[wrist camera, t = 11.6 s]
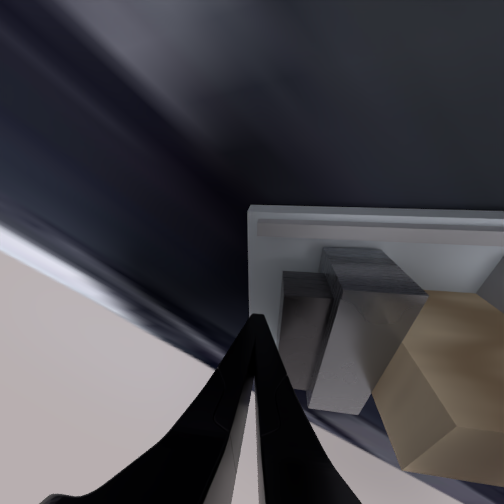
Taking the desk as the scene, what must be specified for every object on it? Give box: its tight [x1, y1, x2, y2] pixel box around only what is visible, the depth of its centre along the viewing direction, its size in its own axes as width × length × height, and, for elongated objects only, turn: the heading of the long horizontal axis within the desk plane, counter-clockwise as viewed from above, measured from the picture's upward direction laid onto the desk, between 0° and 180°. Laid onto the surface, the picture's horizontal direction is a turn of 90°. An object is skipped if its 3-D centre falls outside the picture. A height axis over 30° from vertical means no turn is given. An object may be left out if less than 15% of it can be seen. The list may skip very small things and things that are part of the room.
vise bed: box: [247, 205, 504, 344], centre depth 9 cm, size 14×11×4 cm
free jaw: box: [276, 247, 429, 415], centre depth 9 cm, size 4×8×3 cm, turn 1°
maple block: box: [372, 290, 504, 487], centre depth 8 cm, size 5×4×6 cm
